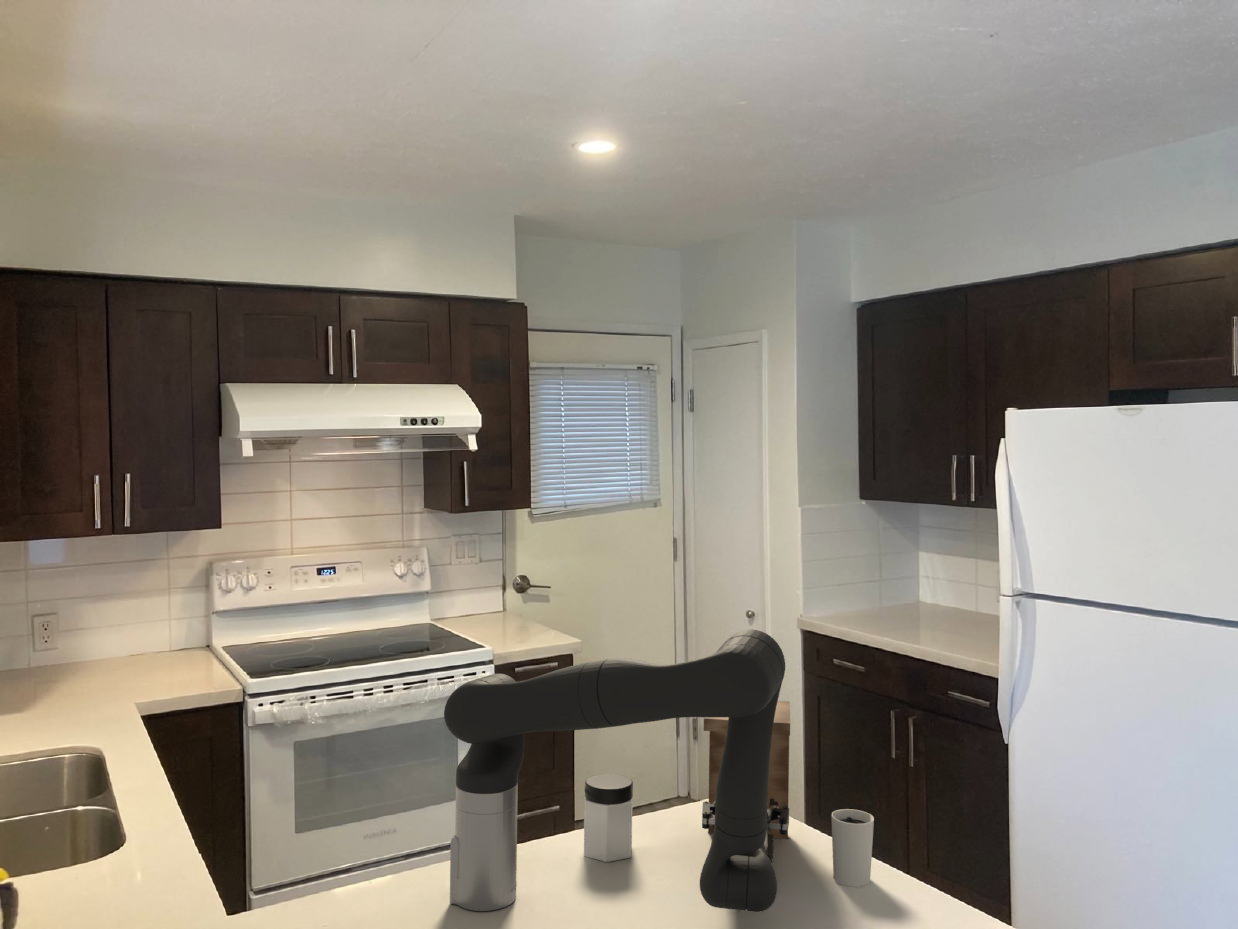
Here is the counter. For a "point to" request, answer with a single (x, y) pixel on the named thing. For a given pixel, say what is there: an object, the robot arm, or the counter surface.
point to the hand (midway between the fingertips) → (746, 802)
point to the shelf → (777, 763)
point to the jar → (608, 817)
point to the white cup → (852, 847)
